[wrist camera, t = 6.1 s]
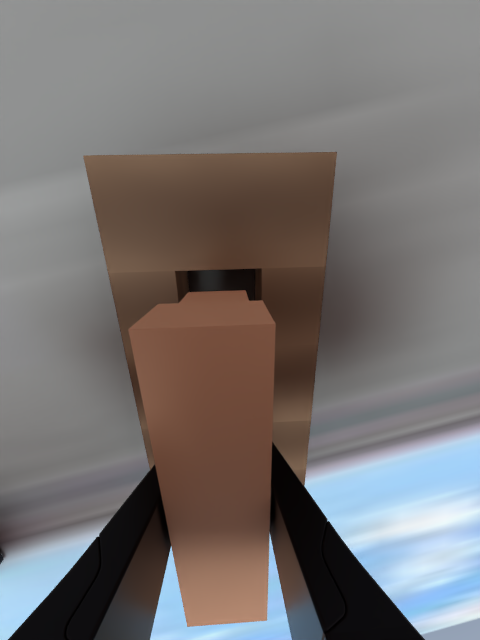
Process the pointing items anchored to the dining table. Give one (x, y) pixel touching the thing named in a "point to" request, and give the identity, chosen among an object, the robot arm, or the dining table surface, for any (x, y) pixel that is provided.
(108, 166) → the brown slotted board
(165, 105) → the dining table surface
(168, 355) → the tall terracotta pillar
